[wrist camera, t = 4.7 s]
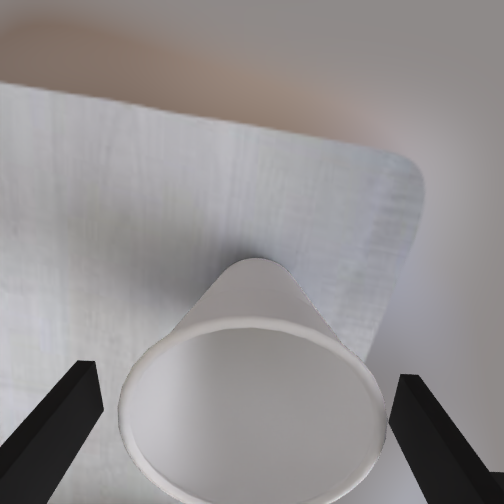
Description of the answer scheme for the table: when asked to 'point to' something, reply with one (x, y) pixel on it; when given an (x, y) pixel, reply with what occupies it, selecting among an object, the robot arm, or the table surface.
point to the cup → (252, 399)
